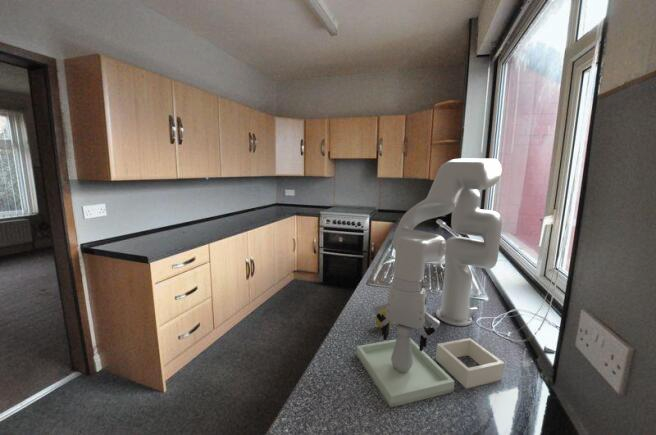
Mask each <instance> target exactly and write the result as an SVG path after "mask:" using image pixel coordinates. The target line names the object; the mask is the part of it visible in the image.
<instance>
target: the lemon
mask: <svg viewBox="0 0 656 435" xmlns="http://www.w3.org/2000/svg"><path fill="white" fill-rule="evenodd" d="M381 313H382V314H383V315H384V316H385V315H386V309H384V310H381ZM375 315H376V314H375ZM385 317H386V316H385ZM375 319H376V324H377V325H378V327H380V328H381V329H382V325H381V322H380V321H379V320H378V318H377V315H376V317H375ZM389 323H390V324H389V327H391V325H392V323H393V322H389Z"/></svg>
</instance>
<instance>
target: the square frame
mask: <svg viewBox="0 0 656 435" xmlns="http://www.w3.org/2000/svg"><path fill="white" fill-rule="evenodd" d="M466 356H467V357H468V356H469V357H470V358H471V359H472V360H473V361H474V362H476V363H477V364H478V365H476V366H471V367H468V366H467V365H466V364H465V363H463V362H462V361H461V360H460V359H459V358H461V357H466ZM435 360H436V362H438V363H439V364H440V365H441V366H442V367H443V368H444V369H445V370H446V371H447V372H448V373H449V374H450V375H452V377H454V379H455V380H456V381H457V382H459V383H460V384H461V385H462V386H463V387H464V388H465V389H471V388H474V387H479V386H481V385H486V384H487V385H488V384H491V383H494V382H498V381H501V380H503V375H504V368H505V362H504V361H503V360H501V359H500V358H498V357H497V356H496V355H494V354H493V353H492V352H490V351H489V350H487V349H486V348H484V347H483V346H482V345H480V344H479V343H478V342H476V341H475V340H473V339H472V338H471V337H466V338H462V339H456V340H451V341H445V342H441V343H440V342H439V343H437V344H436V353H435Z"/></svg>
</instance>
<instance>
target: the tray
mask: <svg viewBox="0 0 656 435" xmlns="http://www.w3.org/2000/svg"><path fill="white" fill-rule="evenodd" d="M396 340H397V338H396V339H390V340H382V341H378V342H372V343H368V344H362V345H361V344H360V345H357V346H356V357H357V359H359V361H360V363H361V364H362V366H363V367H364V369H365V370H366V372H367V373H368V376H370V378H371V379H372V381H373V383H374V385H376V387H377V389H378V391H379V393H381V395H382V397H383V399H384V400H385V402H386V403H387V404H388V406H389V408H394V407H399V406H403V405H406V404H411V403H415V402H419V401H422V400H426V399H431V398H434V397H439V396H443V395H446V394H450V393H454V390H455V384H456V383H455V380H454V379H453V378H452V377H451V376H450V375H449V374H448V373H447V372H446V371H445V370H444V369H443V368H442V367H440V366H439V364H437V363H436V361H435V360H433V358H431V357H430V356H429V354H427V353H426V352H425V351H424V350H422V351H420V350H419V348H420V345H418V344H417V342H415V341H414V339H412V338H411V348H412V358H413V364H412V367H411V368H410V369H409V371H408V372H407V373H399V372H398V371H396V370H395V369H394V367H393V364H392V361H391V357H392V353H393V350H394V347H395V344H396Z"/></svg>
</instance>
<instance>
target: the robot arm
mask: <svg viewBox="0 0 656 435" xmlns="http://www.w3.org/2000/svg"><path fill="white" fill-rule="evenodd" d="M501 176H502V164H501V163H500V161H499V160H498V159H497V158H454V159H450V160H448V161H446V162H444V163H442V164H441V165H440V166H439V169H438V171H437V172H436V175H435V177H434V180H433V182H432V185H431V187H430V190H428V194H427V196H426V198H424V199H423V200H421V201H420V202H418V203H416V204H415V205H414V206H412V207H411V208H410V209H409V210H407V211H406V212H405V213H404V214H403V215H402V216H401V218H400V221H399V222H398V224H397V227H396V229H395V231H394V234H393V238H392V246H393V249H394V251H395V252H394V254H395V255H394V256H395V257H394V268H393V270H394V271H393V281H392V283H391V284H390V287H389V290H388V295H387V300H386V302H385V303H382V304H381V303H379V304H377V305H375V306H374V307H373V312H374V314H375V315H377V318H378V320H379V321H380V322H381V325H382V328H381V335H382V336H383V338H382V341H387V339H388V337H389V334H390V326H389V324H390V323H389V322H392V323H394V324H400V325H404V326H408V327H411V328H413V329H416V330H418V331H419V333H420V334H421V335H420V339H419V347H420V348H419V350H420V351H422V350H423V349H424V348H427V345H428V344H427V343H428V337H429V336H430V335H433V334H434V333H435V332H436V331H437V330H438V328H439V327H440V325H441V321H442V322H444V323H445V324H449V325H451V326H458V327H467V326H469V325H471V324H472V322H473V318H472V316H471V314H473V313H477V312H479V309H478V307H477V306H473V307H472V306H471V307H470V298H471V292H472V291H471V290H472V282H473V275H472V274H473V273H472V270H471V269H470V267H469V266H472V267H477V268H481V269H485V270H487V269H488V270H492V269H494V268H495V267H496V264H497V262H498V258H499V250H500V241H501V235H502V225H503V223H502V222H503V220H502V217H501V214H500V213H499V212H497V211H496V210H490V209H481V208H480V198H481V194H480V191H484V190H487V189H489V188H491V187H493V186H495V185H496V184H497V183H498V181H499V180H500V178H501ZM448 214H449V215H450V214H451V221H450V222H451V223H450V226H451V230H452V231H453V232H456V233H457V234H462V235H467V236H468V235H469V236H474V237H480V238H482V239H483V240H481V239H476V238H470V237H466V236H465V237H464V236H458V235H457V236H456V235H455V236H451V237H448V238H447V239H445V238H444V237H443V236H442V235H440V234H437V233H435V232H434V233H433V232H428V231H423V230H418V229H415V227H417V225H419V224H421V223H422V222H424V221H427V220H431V219H435V218H438V217H442V216H446V215H448ZM443 257H444V272H443V273H444V276H443V282H442V285H443V286H442V294H441V295H442V296H441V304H440V306H441V307H440V308H437V309H436V312H435V316H436V317H437V318H435V317H434V316H433V315H431V314H430V313H429V312H427V308H428V300H427V298H428V297H427V289H429V288H430V282H427V281H426V280H425V278H424V277H425V270H426V268H425V267H426V263H431V262H438V261H439V260H441V259H442V258H443ZM425 288H427V289H425ZM384 309H386V315H385V316H386V317H385V316H384V315H383V314H382V313H381V310H384ZM438 319H439V320H438ZM440 320H441V321H440ZM426 321H427V322H429V323H430V324H432V325H430V326H429V327H428V326H427V324H425V323H426ZM423 351H424V350H423Z"/></svg>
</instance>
